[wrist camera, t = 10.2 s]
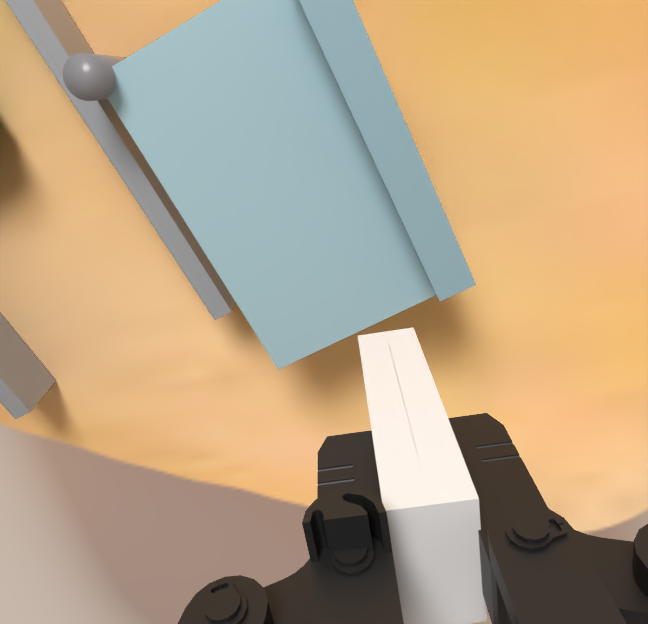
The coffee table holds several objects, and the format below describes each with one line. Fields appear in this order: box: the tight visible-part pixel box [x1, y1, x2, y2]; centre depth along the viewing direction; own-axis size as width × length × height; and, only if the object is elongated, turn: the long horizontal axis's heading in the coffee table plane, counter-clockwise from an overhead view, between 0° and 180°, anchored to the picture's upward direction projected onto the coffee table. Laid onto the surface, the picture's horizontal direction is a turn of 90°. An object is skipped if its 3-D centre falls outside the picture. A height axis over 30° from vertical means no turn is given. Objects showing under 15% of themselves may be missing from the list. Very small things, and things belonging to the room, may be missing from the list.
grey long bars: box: [0, 0, 235, 419], centre depth 32 cm, size 24×16×4 cm
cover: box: [63, 0, 476, 369], centre depth 30 cm, size 13×19×8 cm
